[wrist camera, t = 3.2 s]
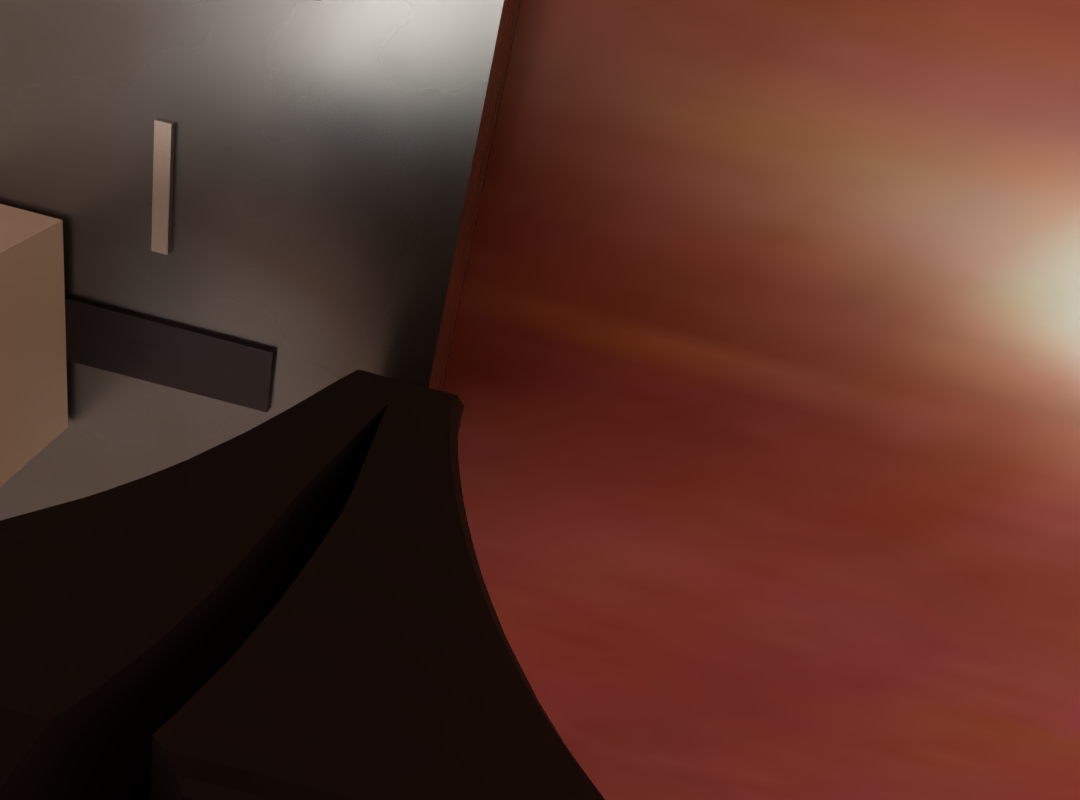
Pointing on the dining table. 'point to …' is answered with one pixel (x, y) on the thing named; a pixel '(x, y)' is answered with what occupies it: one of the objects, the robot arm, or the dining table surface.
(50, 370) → the fader cap ivory
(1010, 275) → the dining table surface
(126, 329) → the mixing console
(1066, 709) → the dining table surface
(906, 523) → the dining table surface
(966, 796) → the dining table surface
